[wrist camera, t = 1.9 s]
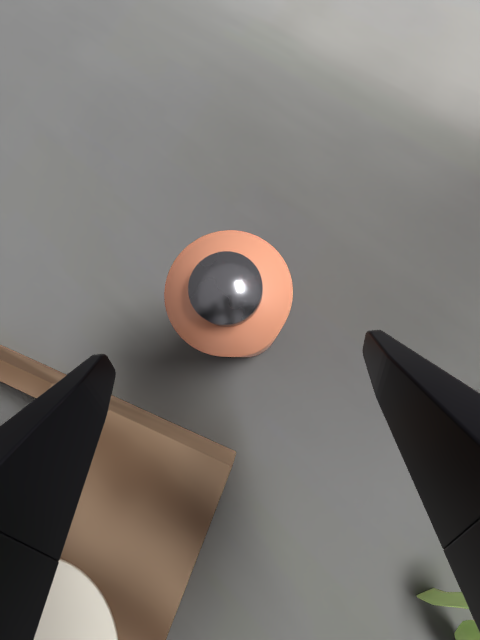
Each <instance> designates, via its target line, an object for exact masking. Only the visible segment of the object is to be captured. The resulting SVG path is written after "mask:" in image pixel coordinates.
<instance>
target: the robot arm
mask: <svg viewBox="0 0 480 640" xmlns="http://www.w3.org/2000/svg"><path fill="white" fill-rule="evenodd" d="M363 356H364V360H365V363H366V366H367V370H368V373H369V376H370V379H371V383H372V386H373V389H374V392H375V395H376V398H377V400H378V403H379V405H380V407H381V410H382V412H383V414H384V416H385V419H386V421H387V423H388V425H389V428H390V430H391V432H392V435H393V437H394V439H395V441H396V444H397V446H398V448H399V450H400V453H401V455H402V457H403V459H404V462H405V464H406V466H407V469H408V471H409V473H410V475H411V478H412V480H413V482H414V484H415V487H416V489H417V491H418V493H419V496H420V498H421V500H422V503H423V505H424V507H425V509H426V512H427V514H428V516H429V518H430V521H431V523H432V525H433V527H434V530H435V532H436V534H437V537H438V539H439V541H440V543H441V546H442V548H443V549H444V553H445V555H446V557H447V560H448V562H449V564H450V566H451V569H452V571H453V573H454V575H455V578H456V580H457V582H458V585H459V587H460V589H461V591H462V594H463V596H464V598H465V600H466V603H467V605H468V607H469V610H470V612H471V614H472V616H473V619H474V621H475V623H476V625H477V628H478V630H479V632H480V393H478V392H477V391H475V390H474V389H472V388H470V387H469V386H467V385H466V384H464V383H463V382H461V381H459V380H458V379H456V378H455V377H453V376H452V375H450V374H449V373H447V372H445V371H444V370H442V369H441V368H439V367H438V366H436V365H435V364H433V363H431V362H430V361H428V360H427V359H425V358H424V357H422V356H420V355H419V354H417V353H416V352H414V351H413V350H411V349H410V348H408V347H406V346H405V345H403V344H402V343H400V342H399V341H397V340H395V339H394V338H392V337H391V336H389V335H388V334H386V333H385V332H383V331H381V330H372V331H368V332H367V333H366V335H365V340H364V345H363ZM114 380H115V369H114V367H113V365H112V364H111V362H110V360H109V359H108V357H107V356H106V355H105V354H97V355H92V356H91V357H90V358H88V359H87V360H86V361H84V362H83V363H82V364H80V365H79V366H78V367H77V368H75V369H74V370H73V371H71V372H70V373H69V374H68V375H66V376H65V377H64V378H62V379H61V380H60V381H58V382H57V383H56V384H55V385H53V386H52V387H51V388H49V389H48V390H47V391H46V392H44V393H43V394H42V395H40V396H39V397H38V398H36V399H35V400H34V401H33V402H31V403H30V404H29V405H27V406H26V407H25V408H24V409H22V410H21V411H20V412H18V413H17V414H16V415H14V416H13V417H12V418H11V419H9V420H8V421H7V422H5V423H4V424H3V425H1V426H0V640H34V637H35V634H36V631H37V628H38V625H39V622H40V619H41V616H42V612H43V609H44V606H45V603H46V600H47V597H48V594H49V591H50V588H51V585H52V582H53V579H54V576H55V573H56V570H57V567H58V564H59V560H60V557H61V554H62V551H63V548H64V545H65V542H66V539H67V536H68V533H69V530H70V527H71V524H72V520H73V517H74V514H75V511H76V508H77V505H78V502H79V499H80V496H81V493H82V490H83V487H84V484H85V481H86V478H87V475H88V472H89V469H90V466H91V463H92V460H93V456H94V453H95V450H96V447H97V444H98V441H99V438H100V435H101V432H102V429H103V426H104V423H105V420H106V416H107V413H108V409H109V404H110V399H111V394H112V390H113V385H114Z"/></svg>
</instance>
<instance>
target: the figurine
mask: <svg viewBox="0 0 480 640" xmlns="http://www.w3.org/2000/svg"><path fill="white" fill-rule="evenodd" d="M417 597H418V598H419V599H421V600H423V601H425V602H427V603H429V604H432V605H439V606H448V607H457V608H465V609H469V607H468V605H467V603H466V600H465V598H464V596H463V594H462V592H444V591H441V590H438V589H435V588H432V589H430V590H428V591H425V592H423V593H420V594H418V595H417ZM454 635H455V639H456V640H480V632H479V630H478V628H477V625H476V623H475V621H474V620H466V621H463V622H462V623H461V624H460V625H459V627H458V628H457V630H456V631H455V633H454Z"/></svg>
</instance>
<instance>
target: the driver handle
mask: <svg viewBox="0 0 480 640" xmlns="http://www.w3.org/2000/svg"><path fill="white" fill-rule="evenodd" d="M164 297H165V307H166V311H167V314H168V318H169V320H170V322H171V324H172V326H173V327H174V329H175V330H176V332H177V333H178V334H179V336H180V337H181V338H182V339H183V340H184V341H185V342H187V343H188V344H189V345H191V346H192V347H194V348H195V349H197V350H199V351H201V352H204V353H207V354H210V355H214V356H220V357H253V356H257V355H259V354H261V353H263V352H264V351H266V350H267V349H268V348H269V347H270V346H271V345H272V343H273V342H274V340H275V338H276V337H277V335H278V333H279V332H280V330H281V328H282V327H283V325H284V323H285V321H286V319H287V317H288V315H289V312H290V309H291V305H292V299H293V287H292V280H291V275H290V272H289V270H288V267H287V265H286V263H285V261H284V259H283V258H282V257H281V255H280V254H279V253H278V251H277V250H276V249H275V248H274V247H273V246H272V245H270V244H269V243H268V242H266V241H265V240H263V239H261V238H260V237H258V236H255V235H253V234H250V233H246V232H242V231H234V230H226V231H218V232H214V233H210V234H208V235H205V236H203V237H201V238H199V239H197V240H195V241H194V242H192V243H191V244H189V245H188V246H187V247H186V248H185V249H184V250H183V251H182V252H181V253H180V254H179V255H178V257H177V258H176V260H175V261H174V263H173V264H172V266H171V268H170V270H169V273H168V276H167V279H166V284H165V292H164Z"/></svg>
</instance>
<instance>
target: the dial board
mask: <svg viewBox="0 0 480 640" xmlns="http://www.w3.org/2000/svg"><path fill="white" fill-rule="evenodd" d="M65 376H66V374H64V373H61V372H59V371H57V370H55V369H53V368H50V367H48V366H46V365H44V364H42V363H39V362H37V361H35V360H33V359H31V358H28V357H26V356H24V355H22V354H20V353H17V352H15V351H13V350H11V349H9V348H6V347H4V346H2V345H0V381H1V382H3V383H5V384H7V385H9V386H11V387H14V388H16V389H18V390H20V391H22V392H24V393H26V394H28V395H30V396H33V397H35V398H38V397H39V396H40V395H42V394H43V393H44V392H46V391H47V390H48V389H49V388H51V387H52V386H53V385H55V384H56V383H57V382H58V381H60V380H61V379H62V378H64V377H65ZM235 455H236V451H233V450H231V449H229V448H227V447H225V446H222V445H220V444H218V443H216V442H213V441H211V440H209V439H207V438H205V437H202V436H200V435H198V434H196V433H194V432H191V431H189V430H187V429H185V428H183V427H180V426H178V425H176V424H174V423H172V422H169V421H167V420H165V419H163V418H161V417H158V416H156V415H154V414H152V413H150V412H147V411H145V410H143V409H141V408H139V407H136V406H134V405H132V404H130V403H128V402H125V401H123V400H121V399H119V398H117V397H114V396H112V395H111V399H110V404H109V409H108V413H107V416H106V420H105V423H104V426H103V429H102V432H101V435H100V438H99V441H98V444H97V447H96V450H95V453H94V456H93V460H92V463H91V466H90V469H89V472H88V475H87V478H86V481H85V484H84V487H83V490H82V493H81V496H80V499H79V502H78V505H77V508H76V511H75V514H74V517H73V520H72V524H71V527H70V530H69V533H68V536H67V539H66V542H65V545H64V548H63V551H62V554H61V557H60V560H59V564H58V567H57V570H56V573H55V576H54V579H53V582H52V585H51V588H50V591H49V594H48V597H47V600H46V603H45V606H44V609H43V612H42V616H41V619H40V622H39V625H38V628H37V631H36V634H35V637H34V640H166V638H167V635H168V633H169V630H170V627H171V625H172V622H173V620H174V617H175V614H176V612H177V609H178V607H179V604H180V601H181V599H182V596H183V594H184V591H185V588H186V586H187V583H188V580H189V578H190V575H191V573H192V570H193V567H194V565H195V562H196V560H197V557H198V554H199V552H200V549H201V547H202V544H203V541H204V539H205V536H206V534H207V531H208V528H209V526H210V523H211V521H212V518H213V515H214V513H215V510H216V508H217V505H218V502H219V500H220V497H221V494H222V492H223V489H224V487H225V484H226V481H227V479H228V476H229V474H230V471H231V468H232V466H233V462H234V459H235Z"/></svg>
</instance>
